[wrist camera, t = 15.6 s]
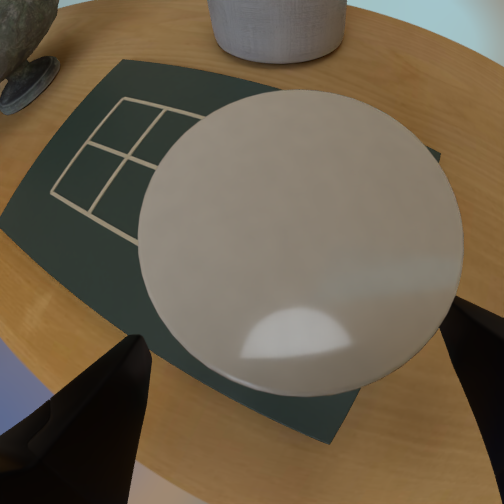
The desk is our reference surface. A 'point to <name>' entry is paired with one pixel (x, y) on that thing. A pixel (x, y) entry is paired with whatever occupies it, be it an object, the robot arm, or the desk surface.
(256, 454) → the desk surface
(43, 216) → the board
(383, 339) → the white upright cylinder
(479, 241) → the desk surface
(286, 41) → the planter
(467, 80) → the desk surface
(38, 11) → the bowl
